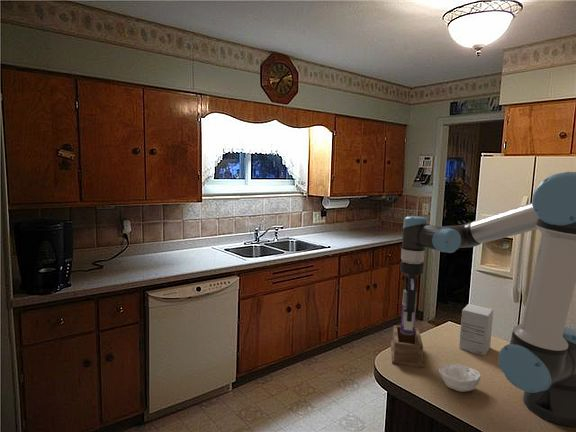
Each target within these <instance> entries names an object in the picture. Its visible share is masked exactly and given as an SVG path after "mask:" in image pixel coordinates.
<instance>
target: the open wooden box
mask: <svg viewBox="0 0 576 432" xmlns="http://www.w3.org/2000/svg"><path fill="white" fill-rule="evenodd" d="M392 328H393V329H392V339H390V348H391V350H390V351H391V364H393V365H401V366H407V367H408V366H409V367H415V368H420V369H421V368H422V369H423V368H424V366H425V365H424V360H423V353H424V352H423V351H424V345H423V341H422V337H421V333H420V332H421V331H420V330H419V329H420V328H418V327H415V329H414V334H413V335H405V334H402V333H401V332H400V328H401V325H396V324H395V325H393V327H392Z"/></svg>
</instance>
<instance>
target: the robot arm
mask: <svg viewBox="0 0 576 432" xmlns="http://www.w3.org/2000/svg"><path fill="white" fill-rule="evenodd" d="M402 225H403V226H402V241H401V248H400V249H401V251H400V259H401V261H400V267H399V271H400V272H401V273H402V274H404V275H405V276H404V289H406V291H407V300H406V310H404V312H405V322H404V329H405V330H412V329H413V315H414V312H415V296H416V291H417V288H418V286H417V285H418V282H419V281H418V277H417V275H418V276H419V275H423V274H424V267H425V266H424V265H425V264H424V262H425V256H427V253H426V252H425V251H426V249H431V250H435V251H438V252H440V253H448V254H452V253H454V252H456V251H457V250H458V249H461V248H462V249H463V248H474V247H478V246H480V245H481V244H485V243H488V242H493V241H496V240H501V239H505V238H508V237H511V236H512V237H513V236H517V235H521V234H524V233H529V232H532V231H536V230H539V231H540V232H541V237H540V241H539V245H538V250H537V253H536V258H535V263H534V268H533V271H532V278H531V281H530V284H529V290H528V294H527V299H526V302H525V308H524V312H523V316H522V321H521V323H520V324H517V325H515V326H514V327H513V329H512V334H511V337H510V342H509V344H505V345H504V346H503V347H502V348H501V349H500V351H499V353H498V365H499V369H500V371H501V372H502V373H503V374H504V377H505V378H506V380H508V381H509V383H511V385H512V386H514V387H516V388H518V389H519V390H521V391H523V403H524V405H525V406H526V407H527V409H529V411H531V412H532V413H534V414H535V415H537V416H538V417H540V418H542V419H545V420H546V421H549V422H551V423H554V424H557V425H560V426H565V427H571V428H576V329H575V328H571V327H567V326H566V324H567V320H568V316H569V312H570V308H571V305H572V300H573V296H574V293H575V289H576V171H565V172H559V173H555V174H552V175H550V176H548V177H546V178H545V179H543V180H542V181H541V182H540V183H539V184H538V185H537V186H536V188H535V190H534V192H533V194H532V198H531V202H529V203H527V204H523V205H521V206H517V207H514V208H510V209H508V210H505V211H502V212H498V213H496V214H495V213H494V214H492V215H490V216H489V215H488V216H486V217H483V218H480V219H476V220H473V221H470V222H467V223H464V224H460V225H459V224H457V225H444V226H443V225H441V226H438V225H432V224H428V219H427V218H426V217H424V216H417V215H408V216H405V217H404V219H403V224H402Z"/></svg>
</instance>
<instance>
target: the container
mask: <svg viewBox="0 0 576 432" xmlns="http://www.w3.org/2000/svg"><path fill="white" fill-rule="evenodd" d="M417 295H418V292H417V290H416V296H415V312H414V315H413V329H412V330H405V329H404V322H405V312H404V310H406V300H407V291H406V289H405V288H404V289H403V291H402V299H401V301H402V303H401V315H400V317H401V318H400V326H401V328H400V332H401V333H402V334H405V335H413V334H414V329H415V328H416V315H417V314H416V313H417V299H418V296H417Z"/></svg>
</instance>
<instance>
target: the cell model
mask: <svg viewBox="0 0 576 432" xmlns="http://www.w3.org/2000/svg"><path fill="white" fill-rule="evenodd" d="M438 372H439V375H440V376H441V378H442V380H443V381H444V383H445V385H446V387H448V388H449V389H452V390H455V391H457V392H461V393H463V392H470V391H472V390H474V389H475V388H476V387H477V386H478V385H480V382H481V378H482V377H481V376H482V374H480V372H479V371H478V370H476V369H474V368H471V367H469V366H465V365H463V364H457V363H448V364H445V365H442V366H440V367H439V368H438Z"/></svg>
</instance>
